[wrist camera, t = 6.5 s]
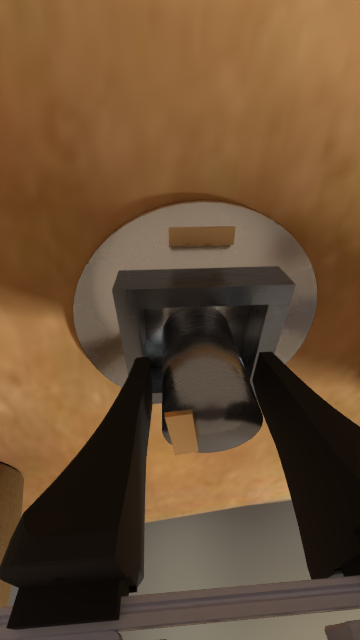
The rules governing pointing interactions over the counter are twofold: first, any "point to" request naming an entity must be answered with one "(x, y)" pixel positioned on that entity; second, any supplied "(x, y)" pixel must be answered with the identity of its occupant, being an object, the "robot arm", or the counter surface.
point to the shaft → (205, 384)
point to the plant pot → (8, 516)
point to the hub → (193, 285)
